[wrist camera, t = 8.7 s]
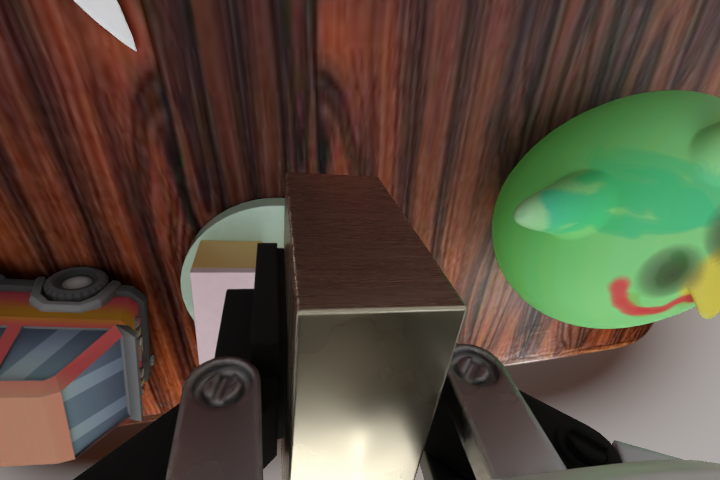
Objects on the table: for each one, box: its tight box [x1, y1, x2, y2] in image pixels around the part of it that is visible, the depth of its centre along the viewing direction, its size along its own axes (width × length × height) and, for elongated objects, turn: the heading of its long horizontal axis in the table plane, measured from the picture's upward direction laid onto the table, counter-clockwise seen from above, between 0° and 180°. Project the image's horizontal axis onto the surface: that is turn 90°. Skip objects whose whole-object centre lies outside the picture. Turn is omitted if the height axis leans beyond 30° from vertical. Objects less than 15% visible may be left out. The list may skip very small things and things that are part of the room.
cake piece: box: [190, 240, 263, 365], centre depth 29 cm, size 9×4×4 cm, turn 173°
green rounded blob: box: [492, 90, 720, 329], centre depth 27 cm, size 18×17×15 cm
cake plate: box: [181, 198, 285, 321], centre depth 33 cm, size 15×15×2 cm
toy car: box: [0, 266, 155, 467], centre depth 27 cm, size 12×17×10 cm
